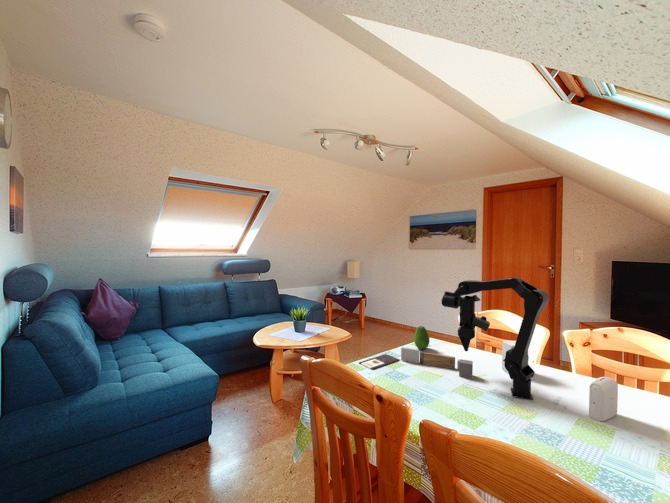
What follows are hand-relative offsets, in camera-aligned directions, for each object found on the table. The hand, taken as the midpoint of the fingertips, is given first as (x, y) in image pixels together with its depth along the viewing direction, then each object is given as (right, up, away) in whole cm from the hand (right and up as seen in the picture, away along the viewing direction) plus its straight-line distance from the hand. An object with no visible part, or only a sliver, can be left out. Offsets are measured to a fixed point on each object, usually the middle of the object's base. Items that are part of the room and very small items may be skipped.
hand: (466, 347), depth 128 cm
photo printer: (+31, -13, -30) cm, 45 cm away
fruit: (-9, -11, +33) cm, 36 cm away
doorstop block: (0, -12, 0) cm, 12 cm away
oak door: (-9, -12, +10) cm, 18 cm away
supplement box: (+22, -12, +4) cm, 26 cm away
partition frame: (-11, -12, +12) cm, 20 cm away
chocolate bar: (-34, -12, +15) cm, 39 cm away
